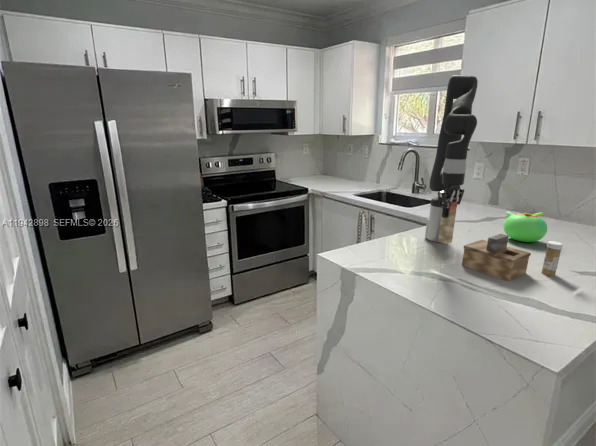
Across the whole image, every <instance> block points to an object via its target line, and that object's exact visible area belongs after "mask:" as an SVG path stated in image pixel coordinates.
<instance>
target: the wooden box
mask: <svg viewBox="0 0 596 446" xmlns="http://www.w3.org/2000/svg"><path fill="white" fill-rule="evenodd" d="M462 253H463V254H462V262H461V266H463V267H466V268H469V269H471V270H474V271H478V272H480V273H483V274H487V275H488V276H491V277H494V278H498V279H501V280H504V281H507V282H510V281H513V280H515V279H517V278H519V277H521V276H523V275H525V274H526V273H527V271H528V265H529V260H530V256H529V257H527V258H524V259H522V260H519V261H517V262H515V263H510V262H507V261H503V260H500V259H497V258H494V257H490V256H487V255H484V254H480V253H477V252H474V251H471V250H467V249H464V248H463V252H462ZM505 254H508V253H505ZM508 255H511V256H515V255H512V254H508Z"/></svg>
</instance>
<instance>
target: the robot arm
mask: <svg viewBox="0 0 596 446" xmlns="http://www.w3.org/2000/svg"><path fill="white" fill-rule="evenodd" d="M478 81H479V80H478V78H477V77H476V76H475V75H460V74H458V75H457V74H454V75H452V76H450V78H449V80H448V83H447V88H446V95H445V102H444V103H445V105H444V111H443V117H442V122H441V126H440V130H439V135H438V140H437V148H436V153H435V157H434V158H435V159H434V162H433V167H432V171H431V174H430V177H429V190H430V191H432V192H437V196H436V197H433V198H432V199H431V200H430V206H429V207H430V208H429V215H428V219H427V220H426V224H425V225H426V227H425V232H424V238H425V239H426V240H428V241H430V242H435V243H439V242H438V238H439V230H440V222H441V214H442V217H444V218H448V214H449V206H450V203H451V202H452V201H455V202H457V206H459V205H460V204H461V202H462V199H463V197H464V193H465V189H462V188H461V186H463V185H464V183H465V176H466V169H467V158H468V157H467V156H468V150H469V145H470V142H471V139H472V137H473V135H474V132H475V130H476V129H477V126H478V119H477V116H476V115H475V114H472V111H473V110H472V109H473V103H474V102H475V97H476V93H477V89H478V83H479V82H478ZM446 201H447V202H448V203H447V202H446ZM442 207H443V210H442Z"/></svg>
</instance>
